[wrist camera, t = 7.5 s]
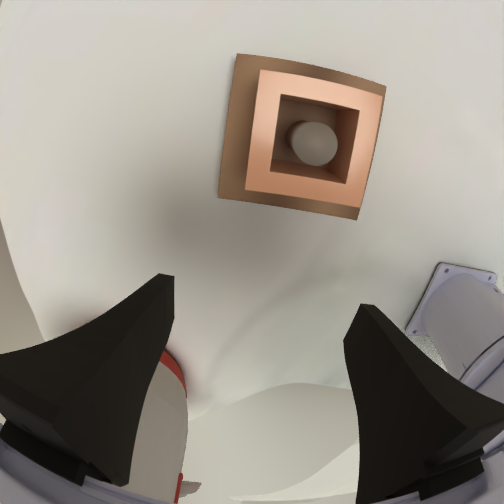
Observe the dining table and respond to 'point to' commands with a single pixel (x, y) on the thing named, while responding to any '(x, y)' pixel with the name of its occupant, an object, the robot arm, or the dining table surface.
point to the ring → (346, 130)
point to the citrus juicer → (162, 438)
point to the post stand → (284, 132)
